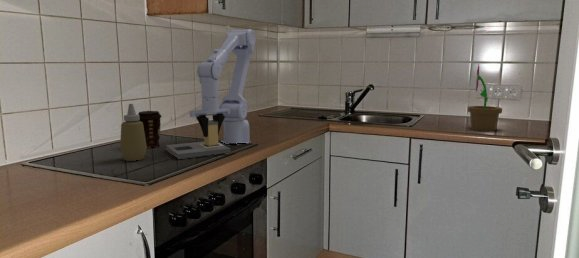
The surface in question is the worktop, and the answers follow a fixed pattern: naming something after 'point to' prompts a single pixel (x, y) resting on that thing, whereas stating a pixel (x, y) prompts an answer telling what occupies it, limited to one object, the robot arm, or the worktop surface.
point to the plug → (212, 133)
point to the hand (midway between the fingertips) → (211, 135)
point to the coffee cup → (151, 127)
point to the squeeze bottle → (132, 136)
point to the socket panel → (196, 149)
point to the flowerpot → (483, 112)
